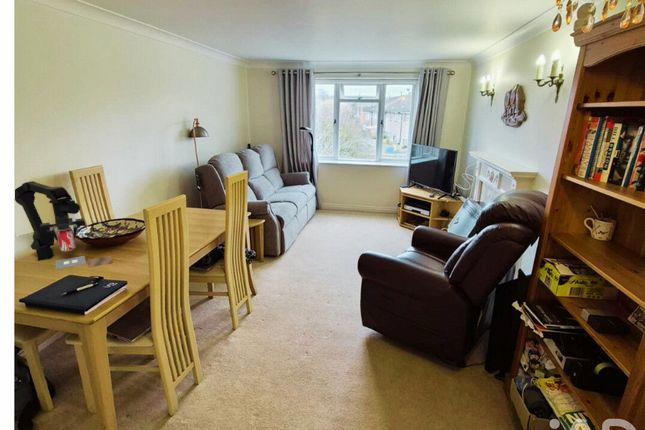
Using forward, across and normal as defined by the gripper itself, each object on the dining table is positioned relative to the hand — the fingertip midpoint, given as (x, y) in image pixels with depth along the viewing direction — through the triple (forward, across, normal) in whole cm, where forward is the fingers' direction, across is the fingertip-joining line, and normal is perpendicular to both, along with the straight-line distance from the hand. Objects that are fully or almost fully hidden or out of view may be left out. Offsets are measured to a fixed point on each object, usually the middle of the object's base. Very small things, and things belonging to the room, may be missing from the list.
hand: (66, 240), depth 182 cm
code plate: (+13, 0, 0) cm, 13 cm away
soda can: (+6, 0, 0) cm, 6 cm away
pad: (+13, +13, -7) cm, 20 cm away
